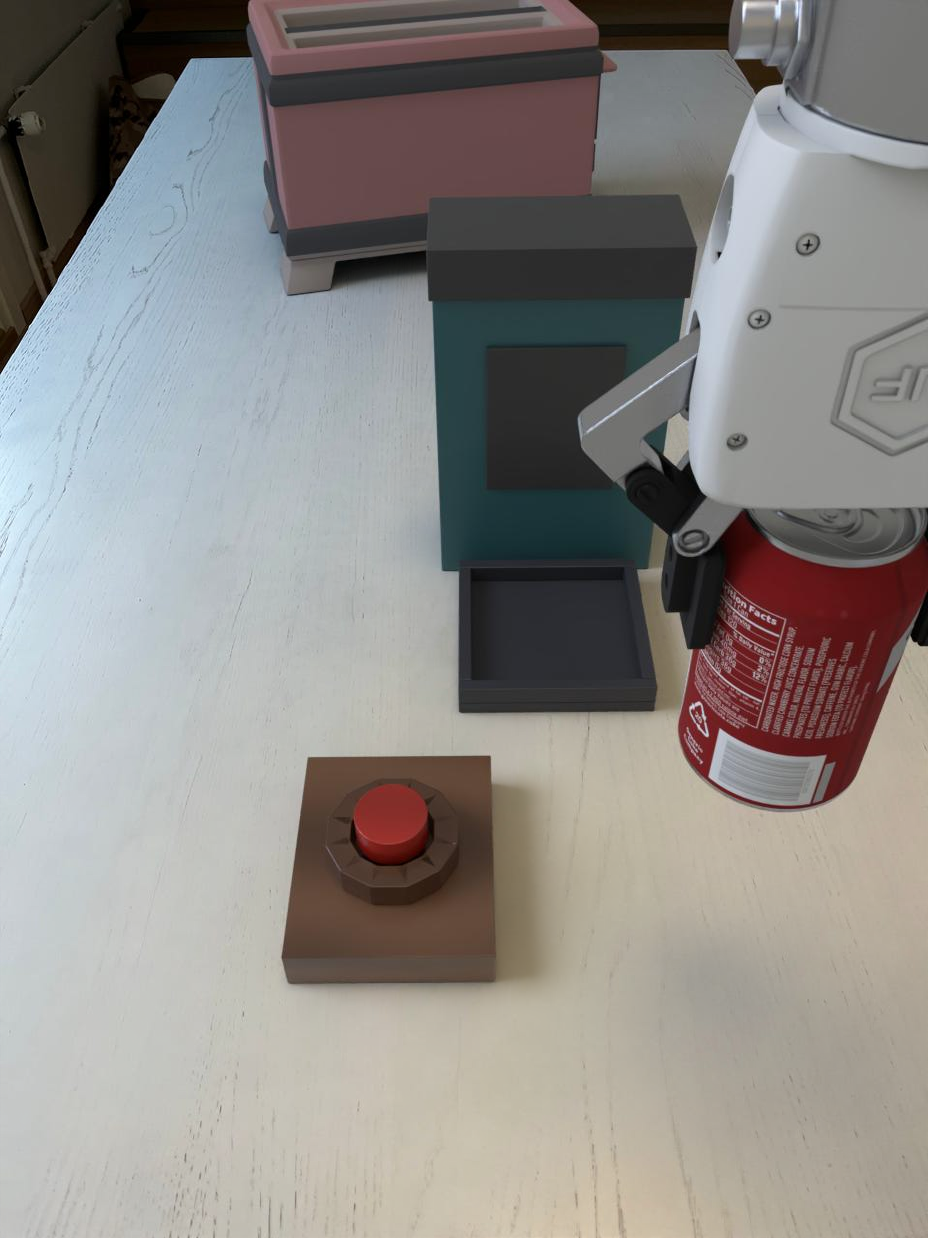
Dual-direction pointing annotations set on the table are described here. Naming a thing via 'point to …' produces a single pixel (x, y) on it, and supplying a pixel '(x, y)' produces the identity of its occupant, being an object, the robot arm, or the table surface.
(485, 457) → the drinks machine
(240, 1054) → the table surface
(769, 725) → the soda can
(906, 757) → the table surface
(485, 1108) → the table surface
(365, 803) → the button
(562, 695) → the tray
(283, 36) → the toaster
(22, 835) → the table surface
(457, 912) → the switch
